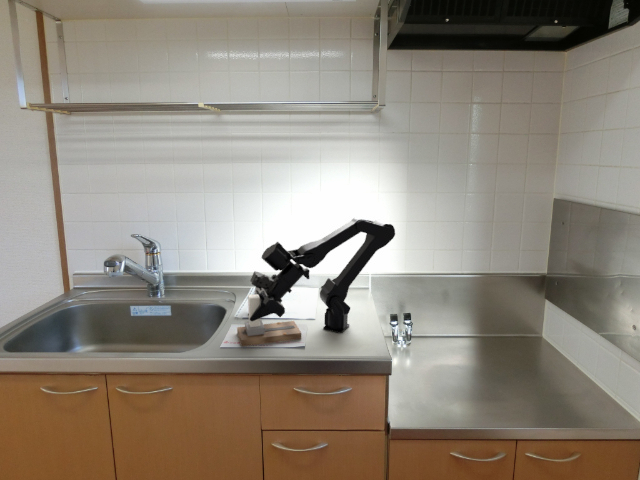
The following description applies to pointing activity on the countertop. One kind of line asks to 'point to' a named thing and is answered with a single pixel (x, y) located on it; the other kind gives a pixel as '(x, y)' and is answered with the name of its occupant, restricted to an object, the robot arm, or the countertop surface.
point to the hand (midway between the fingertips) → (249, 318)
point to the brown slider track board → (270, 334)
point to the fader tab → (257, 325)
